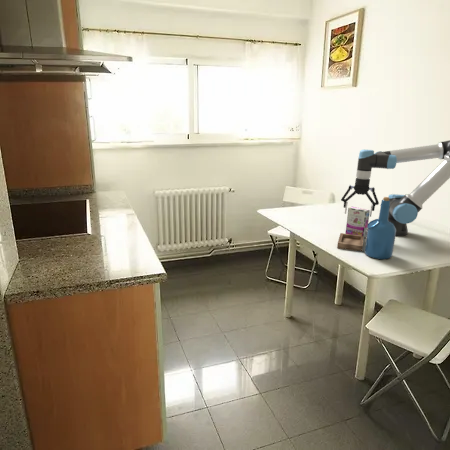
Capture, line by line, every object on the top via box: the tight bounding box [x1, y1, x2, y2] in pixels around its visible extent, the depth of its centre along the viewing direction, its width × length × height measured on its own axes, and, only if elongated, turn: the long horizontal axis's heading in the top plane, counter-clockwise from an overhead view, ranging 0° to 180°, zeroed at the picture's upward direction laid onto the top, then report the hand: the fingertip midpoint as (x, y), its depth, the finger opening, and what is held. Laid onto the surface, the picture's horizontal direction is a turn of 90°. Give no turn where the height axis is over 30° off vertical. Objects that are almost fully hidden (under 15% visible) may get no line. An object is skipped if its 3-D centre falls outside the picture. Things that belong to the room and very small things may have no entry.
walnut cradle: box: [336, 232, 365, 252], centre depth 207 cm, size 12×18×3 cm
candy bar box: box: [344, 206, 371, 239], centre depth 220 cm, size 11×5×16 cm, turn 45°
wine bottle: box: [364, 196, 397, 260], centre depth 188 cm, size 14×13×30 cm
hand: (357, 214), depth 218 cm, fingers open, 13 cm apart
